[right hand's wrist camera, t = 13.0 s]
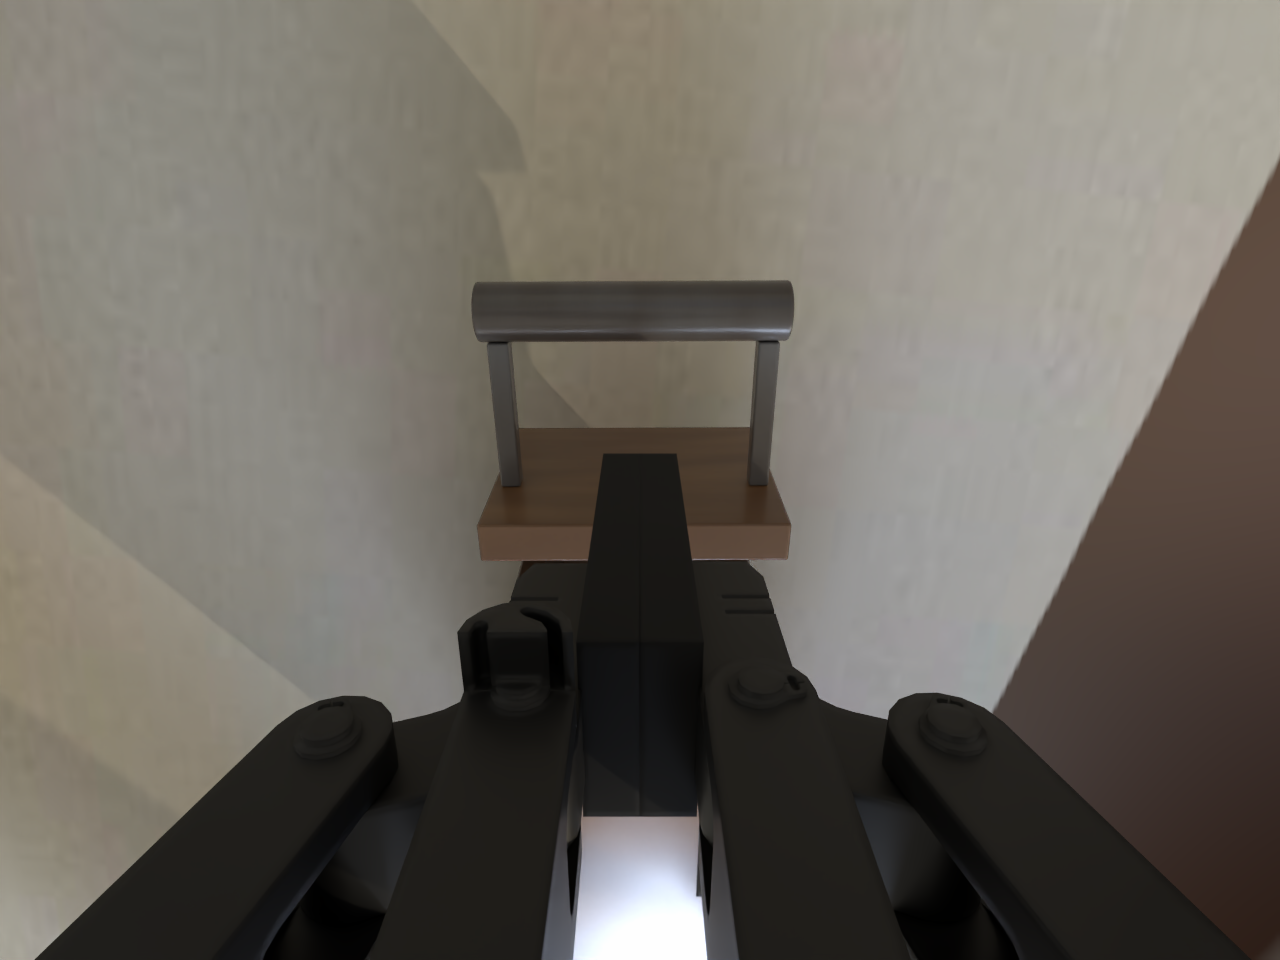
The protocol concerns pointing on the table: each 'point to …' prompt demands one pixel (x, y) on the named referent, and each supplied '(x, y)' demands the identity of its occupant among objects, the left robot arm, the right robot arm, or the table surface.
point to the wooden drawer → (572, 457)
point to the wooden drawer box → (639, 890)
